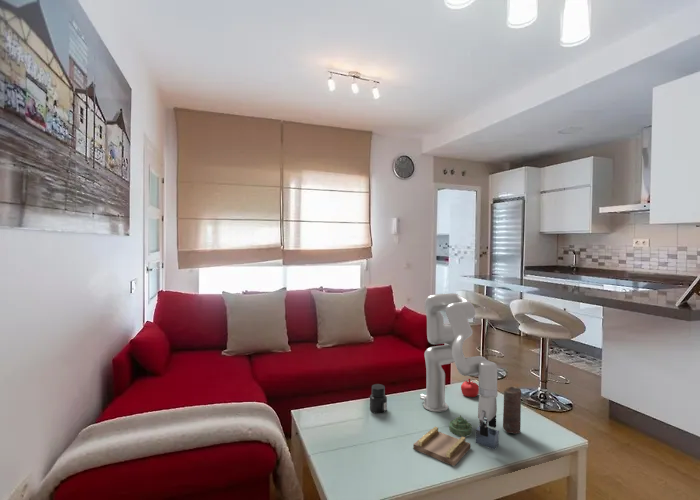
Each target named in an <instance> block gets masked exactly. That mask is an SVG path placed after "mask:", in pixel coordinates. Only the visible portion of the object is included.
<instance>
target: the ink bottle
mask: <svg viewBox="0 0 700 500" xmlns="http://www.w3.org/2000/svg"><path fill="white" fill-rule="evenodd" d="M385 389H386V387H385V385H384V384H382V383H381V384H380V383H375V384H372V385H371V394H370V396H369V410H370V411H371V412H372V413H374V412H375V414H383V413H385V412H387V410H388V398H387V397H388V396H387V395H386V394H385V393H386V390H385Z"/></svg>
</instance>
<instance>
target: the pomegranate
mask: <svg viewBox="0 0 700 500" xmlns="http://www.w3.org/2000/svg"><path fill="white" fill-rule="evenodd" d="M460 390H461V393H462V395H463V396H464V397H468V398H475V397H477V396H478V395H479V384H478V383H476V382H474V380H471V378H468V381H467V380H465V381H463V383H462V384H461V385H460Z"/></svg>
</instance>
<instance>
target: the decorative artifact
mask: <svg viewBox="0 0 700 500" xmlns="http://www.w3.org/2000/svg"><path fill="white" fill-rule="evenodd" d="M448 424H449V426H448V427H449V431H450V433H451V434H453V435H455V436H458V437H469V436H471V435H472V434H473V425H472V424H471V423H470V422H469V421H468V420H467V419H466V418H464V417H463V416H462V415H459V416H456V417H455V418H454V419H453V420H451V421H449V423H448Z"/></svg>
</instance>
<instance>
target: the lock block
mask: <svg viewBox="0 0 700 500" xmlns="http://www.w3.org/2000/svg"><path fill="white" fill-rule="evenodd" d="M499 433H500V431H499V430H497V429H494V428H492V427H488V437H486V436H483V435H480V424H479V425H478V426H477V428H476V429H475V444H478V445H479V446H483V447H485V448H488V449H492V450H494V451H495V450H496V449H497V447H498V446H499V445H500V444H499V439H500V438H499V435H500V434H499Z"/></svg>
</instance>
